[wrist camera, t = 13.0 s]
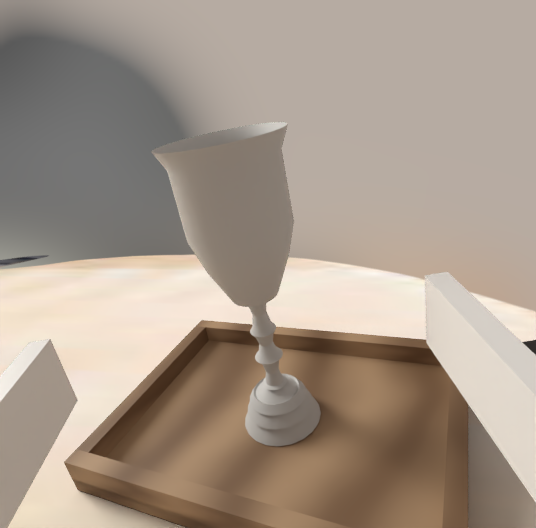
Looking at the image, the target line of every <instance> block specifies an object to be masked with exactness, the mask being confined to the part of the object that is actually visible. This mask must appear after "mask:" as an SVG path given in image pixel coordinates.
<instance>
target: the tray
mask: <svg viewBox="0 0 536 528" xmlns="http://www.w3.org/2000/svg"><path fill="white" fill-rule="evenodd" d="M252 326H253V325H250V324H238V323H227V322H215V321H204V320H202V321H201V322H200V323H199V324H198V325H197V326H196V327H195V328H194V329H193V330H192V331H191V332H190V333H189V334H188V335H187V336H186V337H185V338H184V339H183V340H182V341H181V342H180V343H179V344H178V345H177V346H176V347H175V348H174V349H173V350H172V351H171V353H170V354H169V355H168V356H167V357H166V358H165V359H164V360H163V361H162V362H161V363H160V364H159V365H158V366H157V367H156V368H155V369H154V370H153V371H152V372H151V373H150V374H149V375H148V376H147V377H146V378H145V379H144V380H143V381H142V382H141V383H140V384H139V385H138V387H137V388H136V389H135V390H134V391H133V392H132V393H131V394H130V395H129V396H128V397H127V398H126V399H125V400H124V401H123V402H122V403H121V404H120V405H119V406H118V407H117V408H116V409H115V410H114V411H113V412H112V413H111V414H110V415H109V416H108V417H107V418H106V420H105V421H104V422H103V423H102V424H101V425H100V426H99V427H98V428H97V429H96V430H95V431H94V432H93V433H92V434H91V435H90V436H89V437H88V438H87V439H86V440H85V441H84V442H83V443H82V444H81V445H80V446H79V447H78V448H77V449H76V450H75V451H74V453H73V454H72V455H71V456H70V457H69V458H68V459H67V460H66V461H65V462H64V463H65V465H66V467H67V469H68V471H69V473H70V475H71V477H72V479H73V481H74V483H75V485H76V487H77V489H78V490H80V491H83V492H85V493H88V494H91V495H94V496H97V497H100V498H103V499H106V500H109V501H112V502H115V503H118V504H120V505H123V506H126V507H129V508H132V509H135V510H138V511H141V512H144V513H147V514H150V515H152V516H155V517H158V518H161V519H164V520H167V521H170V522H173V523H176V524H179V525H182V526H185V527H187V528H468V403H467V402H466V400H465V399H464V397H463V396H462V394H461V393H460V391H459V390H458V388H457V387H456V385H455V384H454V383H453V381H452V380H451V378H450V377H449V375H448V374H447V372H446V371H445V369H444V368H443V366H442V365H441V364H440V362H439V361H438V359H437V358H436V356H435V355H434V353H433V352H432V350H431V349H430V347H429V346H428V345H427V343H426V340H422V339H410V338H399V337H387V336H376V335H364V334H353V333H342V332H330V331H319V330H307V329H296V328H284V327H276V329H275V331H274V333H273V342H274V344H275V346H276V347H278V348H280V349H281V350H282V352H283V355H282V357H281V358H280V360H279V370H280V372H281V374H289V375H292V376H293V377H295V378H297V379H298V380H300V381H302V383H303V384H304V386H305V388H307V389H308V391H309V392H310V394H311V395H312V396H313V397H314V398H315V400H316V401H317V403H318V404H319V407H320V412H321V415H320V419H319V423H318V424H317V426H316V428H315V429H314V431H313V432H312V433H310V434H309V435H308V436H307V437H305V438H304V439H302V440H300V441H298V442H296V443H293V444H290V445H284V446H269V445H265V444H262V443H260V442H257V441H256V440H254V439H253V438H252V437H251V436H250V435H249V434H248V431H247V429H246V427H245V417H246V415H247V412H248V405H249V402H250V395H251V393H252V390H253V389H254V387H255V386H256V385H257V383H258V382H259V381H260V380H262V379H263V378H265V377H266V371H265V369H264V367H263V365H262V364H260V363H258V362H257V361H256V359H255V355H256V353H257V352H258V351H259V342H258V341H257V339H256V338H255V337H254V336H253V335H251V333H250V330H251V328H252Z"/></svg>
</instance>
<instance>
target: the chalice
mask: <svg viewBox="0 0 536 528" xmlns="http://www.w3.org/2000/svg"><path fill="white" fill-rule="evenodd" d="M286 129H287V123H285V122H274V123H264V124H256V125H249V126H243V127H238V128H232V129H227V130H222V131H217V132H212V133H208V134H203V135H199V136H195V137H191V138H187V139H183V140H180V141H176V142H173V143H170V144H166V145H164V146H161V147H158V148H156V149H154V150H153V151H152V153H153V154H154V155H155V157H156V158H157V159H158V160H159V162H160V163H161V164H162V165H163V166H164V168H165V169H166V170H167V171H168V175H169V179H170V182H171V186H172V189H173V193H174V196H175V200H176V204H177V207H178V211H179V214H180V218H181V221H182V225H183V228H184V232H185V235H186V239H187V242H188V244H189V246H190V247H191V248H192V250H193V252H194V253H195V255H196V256H197V258H198V259H199V261H200V262H201V264H202V265H203V267H204V268H205V270H206V271H207V273H208V274H209V275H210V276H211V277H212V279H213V280H214V281H215V282H216V283H217V284H218V285H219V286H220V288H221V289H222V290H223V291H224V292H225V293H226V294H227V296H228V297H229V298H230V299H231V300H232V301H233V302H234V303H235V304H237V305H239V306H244V307H249V308H250V310H251V312H252V314H253V326H252V328H251V330H250V333H251V335H253V336H254V337H255V338H256V339H257V341H258V342H259V351H258V352H257V353H256V355H255V359H256V361H257V362H258V363H260V364H262V365H263V367H264V369H265V371H266V377H265V378H263V379H262V380H260V381H259V382H258V383H257V385H256V386H255V387H254V389H253V390H252V393H251V395H250V402H249V405H248V412H247V415H246V417H245V427H246V429H247V431H248V434H249V435H250V436H251V437H252V438H253V439H254V440H256V441H257V442H260V443H262V444H265V445H269V446H284V445H290V444H293V443H296V442H298V441H300V440H302V439H304V438H305V437H307V436H308V435H309V434H310V433H312V432H313V431H314V429H315V428H316V426H317V424H318V423H319V419H320V415H321V412H320V407H319V404H318V403H317V401H316V400H315V398H314V397H313V396H312V395H311V394H310V392H309V391H308V389H307V388H305V386H304V384H303V383H302V381H300V380H298V379H297V378H295V377H293V376H292V375H289V374H281V372H280V370H279V360H280V358H281V357H282V355H283V352H282V350H281V349H280V348H278V347H276V346H275V344H274V342H273V333H274V331H275V329H276V326H275V324H274V323H272V322H271V321H270V318H269V316H268V314H267V312H266V303H267V302H268V301H270V300H272V299H273V298H274V297H275V296H276V295H277V293H278V291H279V287H280V284H281V280H282V277H283V273H284V270H285V266H286V263H287V259H288V256H289V251H290V244H291V237H292V230H293V224H294V219H293V213H292V207H291V201H290V196H289V190H288V184H287V178H286V173H285V167H284V161H283V155H282V149H281V148H282V145H283V141H284V137H285V133H286Z"/></svg>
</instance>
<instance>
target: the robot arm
mask: <svg viewBox="0 0 536 528" xmlns="http://www.w3.org/2000/svg"><path fill="white" fill-rule="evenodd" d="M425 301H426V343H427V345H428V346H429V347H430V349H431V350H432V352H433V353H434V355H435V356H436V358H437V359H438V361H439V362H440V364H441V365H442V366H443V368H444V369H445V371H446V372H447V374H448V375H449V377H450V378H451V380H452V381H453V383H454V384H455V385H456V387H457V388H458V390H459V391H460V393H461V394H462V396H463V397H464V399H465V400H466V402H467V403H468V404H469V406H470V407H471V409H472V410H473V412H474V413H475V415H476V416H477V418H478V419H479V421H480V422H481V423H482V425H483V426H484V428H485V429H486V431H487V432H488V434H489V435H490V437H491V438H492V440H493V441H494V442H495V444H496V445H497V447H498V448H499V450H500V451H501V453H502V454H503V456H504V457H505V459H506V460H507V461H508V463H509V464H510V466H511V467H512V469H513V470H514V472H515V473H516V475H517V476H518V478H519V479H520V480H521V482H522V483H523V485H524V486H525V488H526V489H527V491H528V492H529V494H530V495H531V497H532V498H533V499H534V501H535V502H536V340H533V341H527V342H521V341H520V340H519V339H518V338H517V337H516V336H515V335H514V334H513V333H512V332H511V331H510V330H509V329H508V328H506V327H505V326H504V325H503V324H502V323H501V322H500V321H499V320H498V319H497V318H496V317H495V316H494V315H493V314H492V313H491V312H490V311H488V310H487V309H486V308H485V307H484V306H483V305H482V304H481V303H480V302H479V301H478V300H477V299H476V298H475V297H474V296H473V295H471V294H470V293H469V292H468V291H467V290H466V289H465V288H464V287H463V286H462V285H461V284H460V283H459V282H458V281H457V280H456V279H454V278H453V277H452V276H451V275H450V274H449V273H448V272H443V273H437V274H431V275H425ZM76 402H77V398H76V396H75V393H74V391H73V389H72V387H71V384H70V382H69V380H68V378H67V376H66V373H65V371H64V369H63V367H62V364H61V362H60V360H59V358H58V355H57V353H56V351H55V349H54V346H53V344H52V342H51V340H50V339H47V340H41V341H35V342H29V343H28V344H27V345H26V347H25V348H24V349H23V350H22V351H21V352H20V354H19V355H18V356H17V357H16V358H15V359H14V360H13V362H12V363H11V364H10V365H9V366H8V367H7V369H6V370H5V371H4V372H3V373H2V374H1V376H0V528H7V527H8V526H9V524H10V522H11V520H12V518H13V517H14V515H15V513H16V511H17V509H18V507H19V506H20V504H21V502H22V500H23V498H24V497H25V495H26V493H27V491H28V489H29V488H30V486H31V484H32V482H33V480H34V478H35V477H36V475H37V473H38V471H39V469H40V468H41V466H42V464H43V462H44V460H45V458H46V457H47V455H48V453H49V451H50V449H51V448H52V446H53V444H54V442H55V440H56V439H57V437H58V435H59V433H60V431H61V429H62V428H63V426H64V424H65V422H66V420H67V419H68V417H69V415H70V413H71V411H72V409H73V408H74V406H75V404H76Z"/></svg>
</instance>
